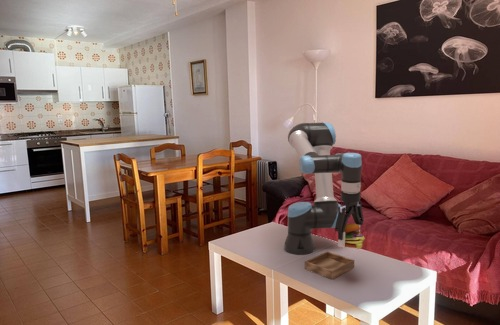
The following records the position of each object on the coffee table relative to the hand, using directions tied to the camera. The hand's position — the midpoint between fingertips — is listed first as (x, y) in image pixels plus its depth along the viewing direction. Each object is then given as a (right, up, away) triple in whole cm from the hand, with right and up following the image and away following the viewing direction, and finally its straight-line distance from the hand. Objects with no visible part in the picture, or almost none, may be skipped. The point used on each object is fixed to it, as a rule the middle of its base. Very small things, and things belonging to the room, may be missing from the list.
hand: (349, 242), depth 158 cm
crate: (-6, -14, +12) cm, 19 cm away
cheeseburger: (0, -1, 0) cm, 1 cm away
